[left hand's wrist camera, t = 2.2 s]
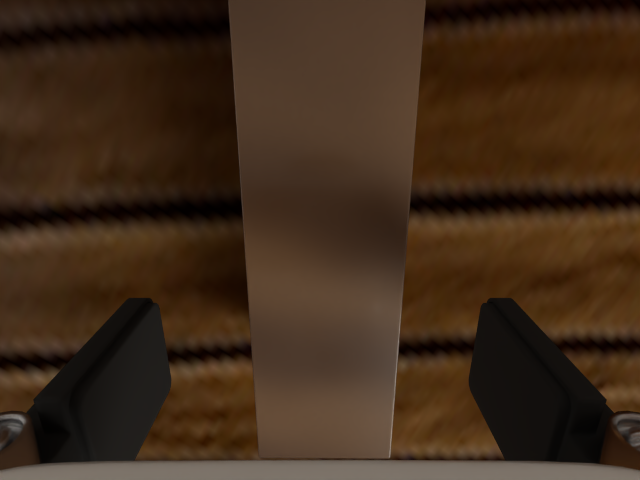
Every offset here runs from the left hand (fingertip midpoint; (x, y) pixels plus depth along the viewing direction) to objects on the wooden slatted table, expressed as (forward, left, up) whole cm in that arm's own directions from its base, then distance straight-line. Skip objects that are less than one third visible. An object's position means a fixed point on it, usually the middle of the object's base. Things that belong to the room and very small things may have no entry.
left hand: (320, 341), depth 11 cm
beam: (+21, +4, -9) cm, 23 cm away
